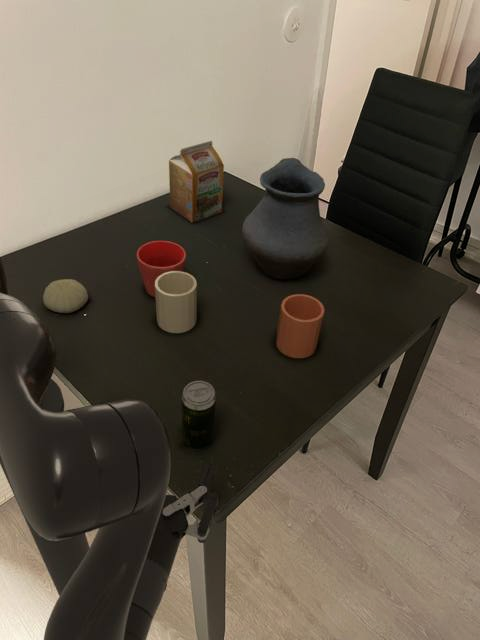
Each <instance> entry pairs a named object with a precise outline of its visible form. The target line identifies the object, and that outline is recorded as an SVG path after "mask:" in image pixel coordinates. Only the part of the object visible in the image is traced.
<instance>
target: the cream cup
mask: <svg viewBox="0 0 480 640" xmlns="http://www.w3.org/2000/svg"><path fill="white" fill-rule="evenodd" d="M197 283H198V282H197V279H196V278H195V277H194V276H193V275H192V274H190V273H189V272H186V271H183V272H182V271H170V272H166V273H163V274H162V275H160V276H158V278H157V279H156V281H155V296H156V297H155V309H156V322H157V325H158V327H159V328H160V329H161V330H162V331H165V332H167V333H170V334H183V333H186V332H188V331H191V329H193V328H194V327H195V325H196V324H197V317H198V313H197V311H198V310H197V308H198V306H197V305H198V304H197V303H198V284H197Z"/></svg>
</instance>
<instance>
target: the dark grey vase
mask: <svg viewBox="0 0 480 640" xmlns="http://www.w3.org/2000/svg"><path fill="white" fill-rule="evenodd" d="M259 182H260V183H259V184H260V185H261V187H262V188H263V189H265V191H264V194H263V196H262V198H261V200H260V201H259V202H258V204H257V205H256V207H255V208H254V209H253V210H251V212H250V213H249V214H248V215H247V216H246V217H245V219H244V221H243V223H242V227H241V228H242V230H241V231H242V237H243V240H244V244H245V246H246V247H247V248H248V250H249V253H250V254H251V256H252V258H253V260H254V262H256V263H257V265H259V267H260V269H261V270H262V271H263V273H265V275H266V276H268V277H269V278H272V279H275V280H291V279H295V278H298V277H300V276H302V275H303V274H305V273H306V272H307V271H308V270H309V269H310V268H311V267H312V266H313V265H314V264H315V263H316V262H317V261H319V260H320V259H321V258H322V257H323V256H324V254H325V253H326V251H327V250H328V248H329V245H330V237H329V234H328V231H327V229H326V226H325V224H324V222H323V220H322V216H321V212H320V199H319V198H320V196H321V194H322V193H323V192H324V191H325V187H326V184H325V183H326V182H325V181H324V178H323V177H322V176H321V175H320V174H319V173H318V172H316V171H313V170H311V169H310V168H308V167H307V166H306V165H304V164H303V163H302V162H301V161H300V159H298V158H295V157H287V158H282V159H281V160H279V161H278V162H277V163H276V164H275V165H273V166H272V167H270V168H268V169H267V170H265V171H264V172H262V173H261V175H260V177H259Z"/></svg>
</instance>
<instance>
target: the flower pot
mask: <svg viewBox="0 0 480 640" xmlns="http://www.w3.org/2000/svg"><path fill="white" fill-rule="evenodd" d="M136 259H137V264H138V267H139V272H140V275H141V278H142V282H143V286H144V288H145V291H146V293H147V294H148V295H150V296H151V297H153V298H156V296H155V281H156V279H157V278H158V276H160V275H162V274H163V273H166V272H170V271H182V272H184V270H185V265H186V260H187V252H186V251H185V249H184V247H183V246H181V245H180V244H178V243H175V242H172V241H169V240H153V241H149V242H146V243H143V245H141V246H140V247H139V248H138V249H137V251H136Z"/></svg>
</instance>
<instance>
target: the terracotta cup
mask: <svg viewBox="0 0 480 640" xmlns="http://www.w3.org/2000/svg"><path fill="white" fill-rule="evenodd" d="M324 314H325V307H324V304H323V303H322V302H321V300H319V299H318V298H316V297H314V296H311V295H309V294H303V293H297V294H295V293H294V294H291V295H288V296H287V297H284V299H283V300H282V302H281V305H280V311H279V317H278V324H277V331H276V337H275V345H276V348H277V349H278V351H279V352H280V353H282V354H283V355H284V356H287V357H288V358H293V359H305V358H308V357H311V356H312V355H313V354H314V353H315V352H316V349H317V346H318V340H319V337H320V332H321V328H322V323H323V319H324Z"/></svg>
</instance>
